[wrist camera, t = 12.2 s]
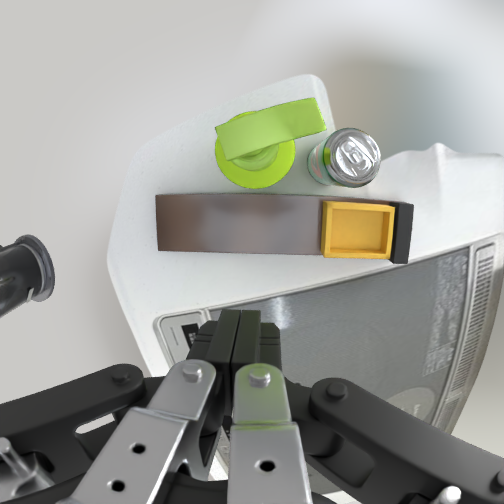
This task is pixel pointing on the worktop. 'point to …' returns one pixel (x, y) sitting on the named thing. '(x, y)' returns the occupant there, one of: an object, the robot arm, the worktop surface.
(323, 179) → the soda can
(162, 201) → the board
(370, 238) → the tray
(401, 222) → the end stop
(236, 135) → the soap dispenser
